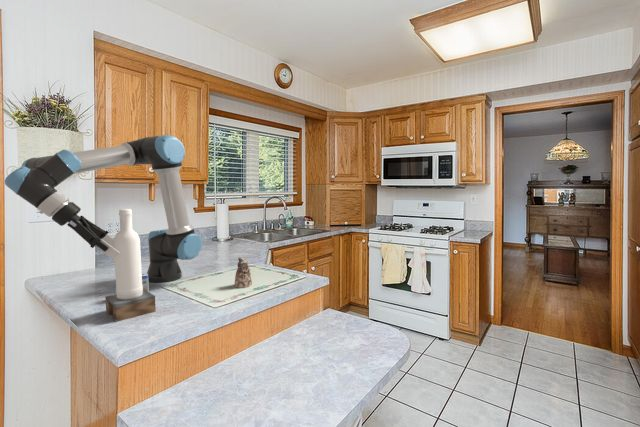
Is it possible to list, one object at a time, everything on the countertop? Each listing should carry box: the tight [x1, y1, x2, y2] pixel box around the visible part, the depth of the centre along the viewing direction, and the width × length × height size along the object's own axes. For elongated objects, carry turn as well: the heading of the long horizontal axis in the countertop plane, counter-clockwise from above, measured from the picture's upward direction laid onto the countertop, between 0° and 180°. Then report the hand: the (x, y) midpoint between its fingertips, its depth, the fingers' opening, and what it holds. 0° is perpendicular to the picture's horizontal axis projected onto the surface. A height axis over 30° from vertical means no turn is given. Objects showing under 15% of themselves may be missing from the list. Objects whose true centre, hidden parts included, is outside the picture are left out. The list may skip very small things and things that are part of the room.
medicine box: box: [142, 273, 150, 293], centre depth 133 cm, size 8×4×9 cm, turn 118°
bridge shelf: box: [104, 289, 157, 322], centre depth 117 cm, size 12×12×6 cm
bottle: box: [113, 208, 143, 300], centre depth 116 cm, size 8×8×30 cm
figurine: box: [234, 257, 253, 289], centre depth 147 cm, size 7×7×12 cm
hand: (118, 252), depth 114 cm, fingers open, 13 cm apart
